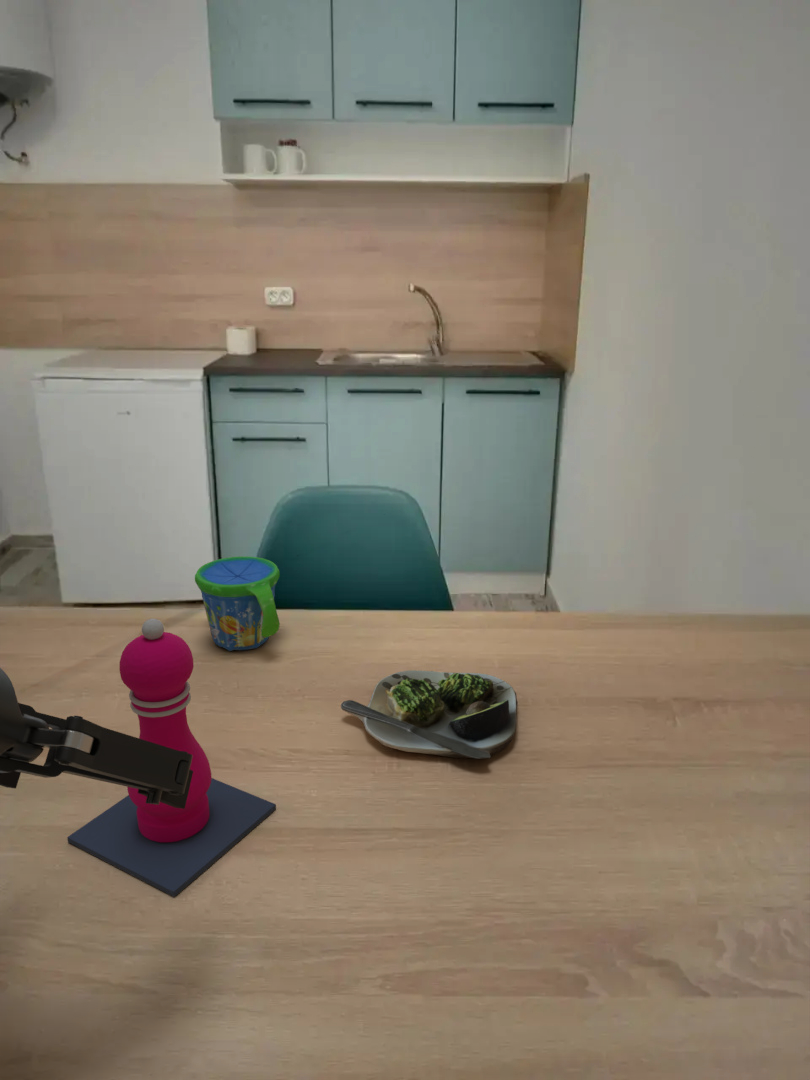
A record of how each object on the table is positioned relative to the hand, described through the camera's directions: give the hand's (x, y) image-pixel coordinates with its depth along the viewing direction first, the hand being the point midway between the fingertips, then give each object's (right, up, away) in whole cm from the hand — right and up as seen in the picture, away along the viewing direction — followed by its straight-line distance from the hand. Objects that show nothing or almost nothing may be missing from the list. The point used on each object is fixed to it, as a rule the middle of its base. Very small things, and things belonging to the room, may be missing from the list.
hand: (99, 779), depth 62 cm
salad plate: (+27, -2, +30) cm, 41 cm away
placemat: (+2, -8, +13) cm, 16 cm away
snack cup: (+1, +4, +49) cm, 49 cm away
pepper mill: (+2, -8, +13) cm, 15 cm away
